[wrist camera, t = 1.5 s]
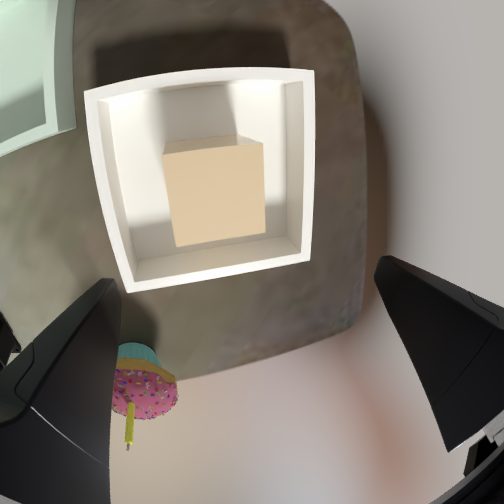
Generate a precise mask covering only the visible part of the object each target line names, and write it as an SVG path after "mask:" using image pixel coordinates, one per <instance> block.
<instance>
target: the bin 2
mask: <svg viewBox="0 0 504 504" xmlns="http://www.w3.org/2000/svg"><path fill="white" fill-rule="evenodd" d="M84 98H85V110H86V120H87V128H88V136H89V143H90V150H91V156H92V162H93V168H94V173H95V178H96V183H97V188H98V193H99V197H100V202H101V206H102V210H103V215H104V219H105V222H106V226H107V230H108V234H109V237H110V241H111V244H112V248H113V251H114V254H115V258H116V261H117V264H118V267H119V270H120V273H121V276H122V279H123V282H124V285H125V288H126V291H127V293H131V292H137V291H143V290H149V289H155V288H161V287H167V286H173V285H179V284H185V283H190V282H196V281H202V280H207V279H213V278H218V277H224V276H230V275H235V274H240V273H246V272H251V271H257V270H262V269H267V268H272V267H278V266H283V265H288V264H293V263H298V262H303V261H308V260H310V250H311V235H312V219H313V198H314V169H315V88H314V71H313V70H303V69H290V68H269V67H234V68H212V69H199V70H189V71H180V72H172V73H165V74H158V75H152V76H147V77H141V78H136V79H131V80H126V81H122V82H118V83H113V84H109V85H105V86H102V87H98V88H94V89H91V90H87V91H84ZM233 134H238V135H241V136H244V137H247V138H250V139H253V140H255V141H258V142H261V143H263V155H264V188H265V230H266V233H260V234H253V235H247V236H241V237H235V238H228V239H222V240H216V241H210V242H204V243H198V244H192V245H186V246H180V247H176V242H175V237H174V232H173V226H172V220H171V214H170V208H169V202H168V196H167V189H166V182H165V175H164V168H163V160H162V153H163V150H164V147H165V144H166V143H167V142H174V141H181V140H188V139H195V138H203V137H212V136H222V135H233Z"/></svg>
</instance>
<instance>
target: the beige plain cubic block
mask: <svg viewBox="0 0 504 504" xmlns="http://www.w3.org/2000/svg"><path fill="white" fill-rule="evenodd" d="M162 160H163V168H164V175H165V182H166V189H167V196H168V202H169V208H170V214H171V220H172V226H173V232H174V237H175V242H176V247H180V246H186V245H192V244H198V243H204V242H210V241H216V240H222V239H228V238H235V237H241V236H247V235H253V234H260V233H266V230H265V188H264V155H263V143H261V142H258V141H255V140H253V139H250V138H247V137H244V136H241V135H238V134H233V135H222V136H212V137H203V138H195V139H188V140H181V141H174V142H167V143H166V144H165V147H164V150H163V153H162Z"/></svg>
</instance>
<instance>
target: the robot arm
mask: <svg viewBox="0 0 504 504" xmlns="http://www.w3.org/2000/svg"><path fill="white" fill-rule="evenodd" d="M374 281H375V283H376V286H377V288H378V290H379V293H380V295H381V297H382V300H383V302H384V305H385V307H386V309H387V312H388V314H389V316H390V318H391V320H392V322H393V324H394V326H395V328H396V330H397V332H398V334H399V336H400V338H401V340H402V342H403V344H404V346H405V348H406V350H407V352H408V354H409V357H410V359H411V361H412V363H413V365H414V368H415V370H416V372H417V374H418V376H419V379H420V381H421V383H422V386H423V388H424V390H425V393H426V395H427V398H428V400H429V402H430V405H431V408H432V411H433V413H434V416H435V418H436V421H437V424H438V427H439V430H440V432H441V435H442V438H443V441H444V444H445V447H446V449H447V452H448V453H449V452H450V451H452V450H453V449H455V448H456V447H458V446H459V445H461V444H462V443H464V442H465V441H466V440H468V439H469V438H470V437H472V436H473V435H474V434H475V433H477V432H478V431H479V430H480V429H483V430H484V432H485V435H484V436H483V437H482V438H481V439H479V440H478V441H477V442H476V443H475V444H473V445H472V446H471V447H470V448H469V452H468V456H467V461H466V466H465V469H464V476H465V478H464V479H463V480H461V481H460V482H459V483H458V484H456V485H455V486H454V487H452V488H451V489H450V490H448V491H447V492H446V493H444V494H443V495H441V496H440V497H439V498H437V499H436V500H434V501H433V502H431V503H430V504H504V308H503V307H501V306H499V305H496V304H494V303H492V302H490V301H488V300H486V299H484V298H482V297H479V296H477V295H475V294H473V293H471V292H469V291H467V290H465V289H463V288H461V287H459V286H457V285H455V284H453V283H451V282H449V281H447V280H444V279H442V278H440V277H438V276H436V275H434V274H431V273H429V272H427V271H425V270H423V269H421V268H418V267H416V266H414V265H412V264H409V263H407V262H405V261H403V260H400V259H398V258H396V257H394V256H391V255H386V256H381V257H380V258H379V261H378V264H377V267H376V270H375V274H374ZM121 306H122V304H121V297H120V294H119V291H118V288H117V285H116V282H115V280H114V279H113V278H102V279H100V280H99V281H98V282H97V283H96V284H94V285H93V286H92V287H91V288H90V289H89V290H87V291H86V292H85V293H84V294H83V295H82V296H80V297H79V298H78V299H77V300H76V301H75V302H74V303H73V304H71V305H70V306H69V307H68V308H67V309H66V310H65V311H64V312H63V313H61V314H60V315H59V316H58V317H57V318H56V319H55V320H54V321H53V322H52V323H51V324H50V325H49V326H47V327H46V328H45V329H44V330H43V331H42V332H41V333H40V334H39V335H38V336H37V337H36V338H35V339H34V340H33V343H32V342H31V343H30V344H29V345H28V346H27V347H26V348H25V349H24V350H23V351H22V352H21V350H22V349H21V347H20V345H19V344H18V343H17V341H16V340H15V338H14V337H13V335H12V334H11V332H10V330H9V329H8V327H7V326H6V324H5V322H4V321H3V319H2V317H1V316H0V504H111V502H110V482H109V481H110V479H109V445H110V423H111V409H112V398H113V388H114V379H115V371H116V364H117V357H118V349H119V336H120V319H121ZM20 352H21V353H20ZM11 353H20V354H19V355H18V356H17V357H16V358H15V359H14V360H13V361H12V362H10V363H9V364H8V365H7V363H8V360H9V357H10V355H11ZM6 365H7V366H6Z"/></svg>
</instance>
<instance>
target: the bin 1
mask: <svg viewBox="0 0 504 504" xmlns="http://www.w3.org/2000/svg"><path fill="white" fill-rule="evenodd" d="M75 5H76V0H0V157H2V156H4V155H6V154H8V153H10V152H13V151H15V150H17V149H20V148H22V147H24V146H27V145H29V144H32V143H34V142H37V141H40V140H42V139H45V138H48V137H50V136H53V135H56V134H59V133H62V132H65V131H68V130H71V129H75V128H77V122H76V113H75V102H74V87H73V29H74V15H75Z"/></svg>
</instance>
